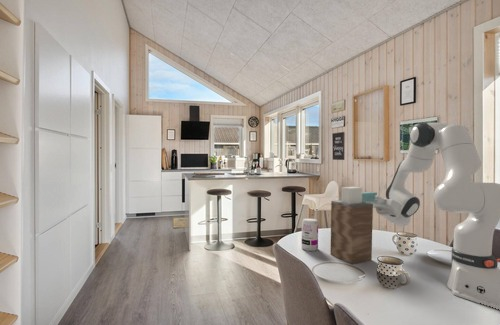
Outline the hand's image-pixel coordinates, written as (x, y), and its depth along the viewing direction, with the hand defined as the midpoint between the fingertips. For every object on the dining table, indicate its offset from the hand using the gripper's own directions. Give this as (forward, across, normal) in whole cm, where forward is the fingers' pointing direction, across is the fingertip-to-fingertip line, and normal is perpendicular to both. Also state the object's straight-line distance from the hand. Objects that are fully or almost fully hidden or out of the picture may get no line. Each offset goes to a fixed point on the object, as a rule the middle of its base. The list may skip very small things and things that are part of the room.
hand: (368, 195), depth 144 cm
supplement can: (+4, -18, +36) cm, 40 cm away
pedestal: (-4, 0, +30) cm, 31 cm away
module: (+4, 0, +5) cm, 6 cm away
